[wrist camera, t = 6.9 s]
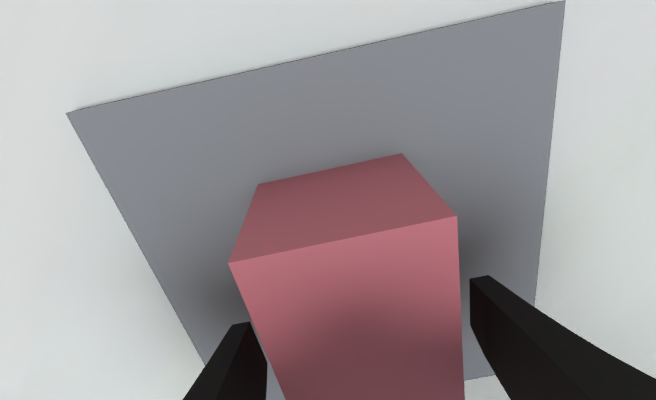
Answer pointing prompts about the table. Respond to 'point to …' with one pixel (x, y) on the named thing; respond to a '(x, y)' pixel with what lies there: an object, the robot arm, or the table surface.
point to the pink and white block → (355, 283)
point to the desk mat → (341, 155)
